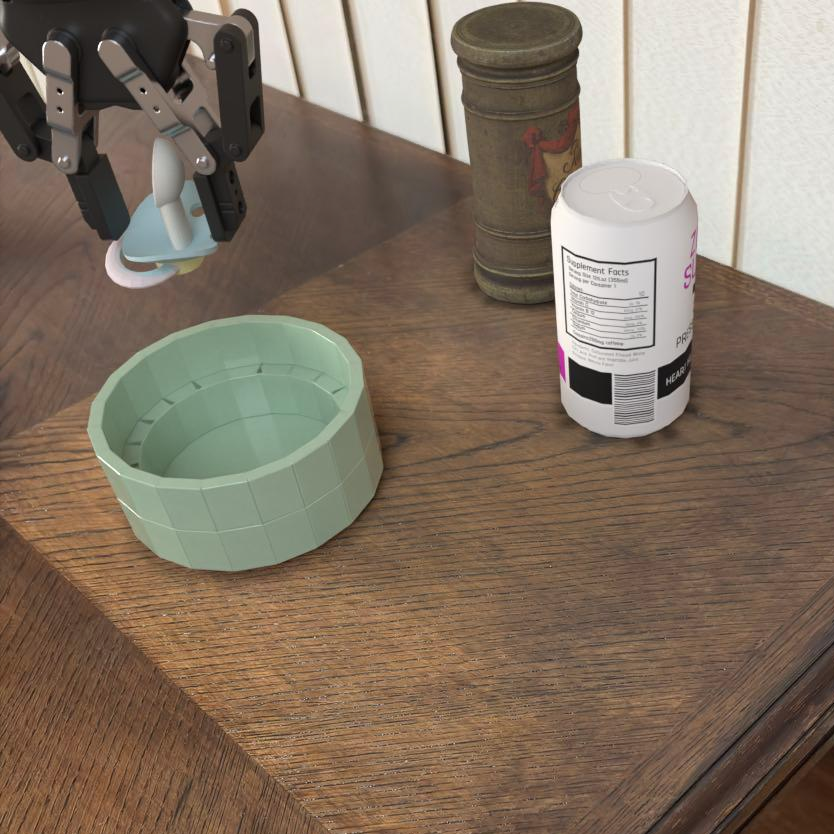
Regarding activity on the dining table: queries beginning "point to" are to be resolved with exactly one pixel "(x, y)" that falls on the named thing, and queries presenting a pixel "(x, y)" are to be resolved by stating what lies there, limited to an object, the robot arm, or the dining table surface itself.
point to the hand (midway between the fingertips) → (171, 232)
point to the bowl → (239, 441)
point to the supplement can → (624, 294)
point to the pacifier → (163, 227)
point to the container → (518, 138)
